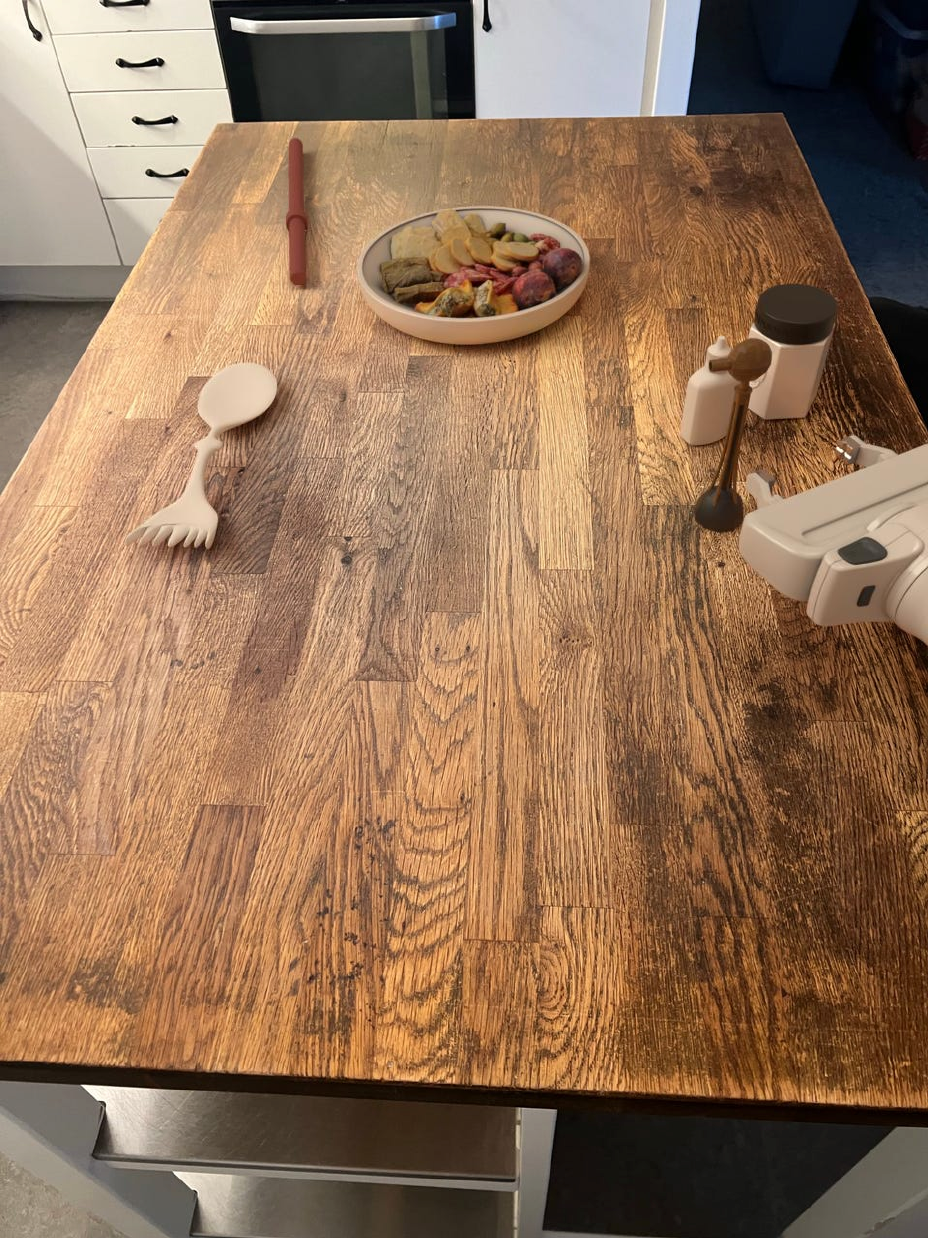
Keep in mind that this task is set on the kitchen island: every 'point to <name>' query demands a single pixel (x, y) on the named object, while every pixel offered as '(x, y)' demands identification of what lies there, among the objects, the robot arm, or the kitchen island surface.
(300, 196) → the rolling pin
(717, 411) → the eye dropper bottle
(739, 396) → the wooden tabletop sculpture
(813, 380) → the jar
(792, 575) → the robot arm
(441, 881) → the kitchen island surface
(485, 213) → the bowl
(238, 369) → the spoon
